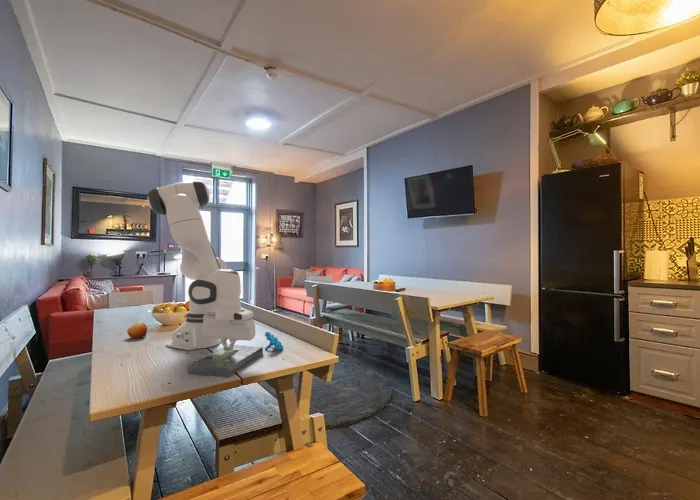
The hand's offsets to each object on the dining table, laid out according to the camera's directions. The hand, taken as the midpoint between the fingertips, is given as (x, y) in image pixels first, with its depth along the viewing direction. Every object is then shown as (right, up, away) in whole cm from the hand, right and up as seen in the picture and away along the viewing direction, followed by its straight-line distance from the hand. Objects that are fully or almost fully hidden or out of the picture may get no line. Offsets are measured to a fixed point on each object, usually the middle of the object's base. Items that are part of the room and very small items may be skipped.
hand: (228, 350), depth 123 cm
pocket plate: (0, -5, 0) cm, 5 cm away
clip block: (+1, -2, 0) cm, 3 cm away
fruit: (-56, -5, +36) cm, 67 cm away
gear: (+13, -5, +17) cm, 22 cm away
